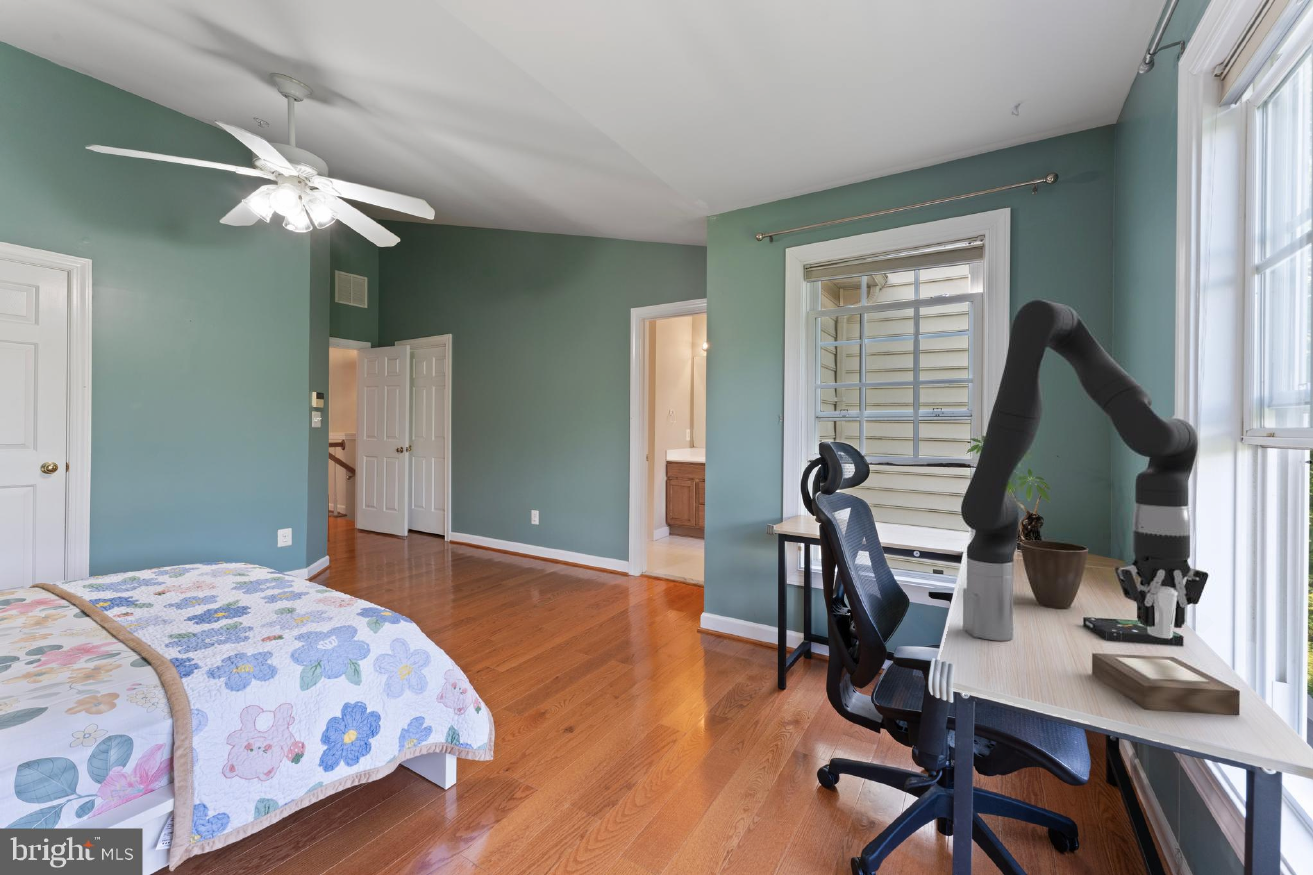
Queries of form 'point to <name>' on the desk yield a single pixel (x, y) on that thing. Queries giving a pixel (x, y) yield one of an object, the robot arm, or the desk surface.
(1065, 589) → the plant pot
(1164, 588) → the milkshake
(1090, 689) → the desk surface
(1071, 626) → the desk surface
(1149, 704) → the plinth
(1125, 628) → the disk drive
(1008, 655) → the desk surface
